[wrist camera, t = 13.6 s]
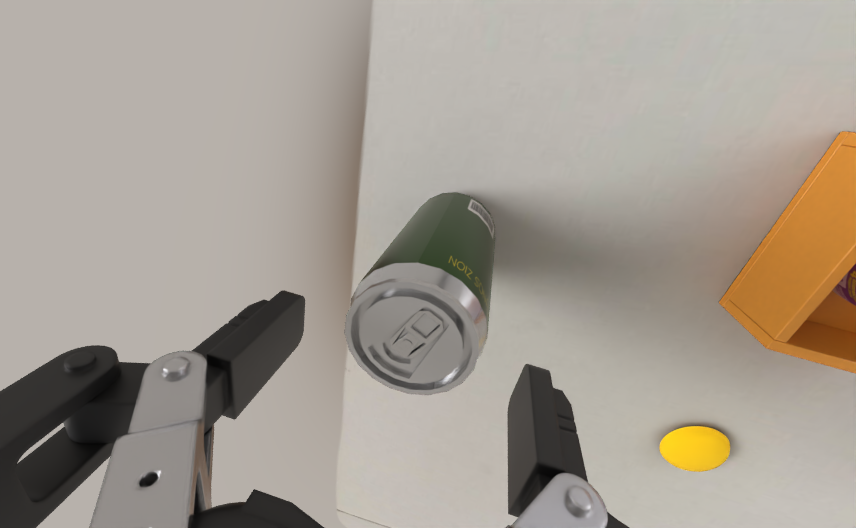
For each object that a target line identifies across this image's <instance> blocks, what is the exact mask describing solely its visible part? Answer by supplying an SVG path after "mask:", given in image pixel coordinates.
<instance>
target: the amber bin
mask: <svg viewBox="0 0 856 528" xmlns="http://www.w3.org/2000/svg"><path fill="white" fill-rule="evenodd" d="M855 264H856V133H855V132H845V131H842V132H840V133H839V135H838V136H837V138H836V139H835V140H834V142H833V143H832V145H831V146H830V147H829V149H828V150H827V152H826V153H825V154H824V156H823V157H822V159H821V160H820V161H819V163H818V164H817V166H816V167H815V168H814V170H813V171H812V173H811V174H810V175H809V177H808V178H807V180H806V181H805V182H804V184H803V185H802V187H801V188H800V189H799V191H798V192H797V194H796V195H795V196H794V198H793V199H792V201H791V202H790V203H789V205H788V206H787V208H786V209H785V210H784V212H783V213H782V215H781V216H780V217H779V219H778V220H777V222H776V223H775V224H774V226H773V227H772V229H771V230H770V231H769V233H768V234H767V236H766V237H765V238H764V240H763V241H762V243H761V244H760V245H759V247H758V248H757V250H756V251H755V252H754V254H753V255H752V257H751V258H750V260H749V261H748V262H747V264H746V265H745V267H744V268H743V269H742V271H741V272H740V274H739V275H738V276H737V278H736V279H735V281H734V282H733V283H732V285H731V286H730V288H729V289H728V290H727V292H726V293H725V295H724V296H723V297H722V299H721V300H720V302H719V304H720V305H722V306H723V307H724V308H725V309H726V310H727V311H728V312H729V313H730V314H731V315H732V316H733V317H734V318H735V319H736V320H737V321H738V322H739V323H740V324H741V325H742V326H743V327H744V328H746V329H747V330H748V331H749V332H750V333H751V334H752V335H753V336H754V337H755V338H756V339H757V340H758V341H759V342H760V343H761V344H762V345H763V346H764V347H765V348H767V349H770V350H773V351H777V352H781V353H784V354H788V355H791V356H795V357H798V358H802V359H806V360H809V361H813V362H816V363H820V364H824V365H827V366H831V367H834V368H838V369H842V370H845V371H849V372H852V373H856V306H855V305H853V304H852V303H850V302H848V301H847V300H845V299H844V298H842V297H840V296H839V295H837V294H836V293H835V292H834V291H832V290H833V289H834V288H835V286H836V285H837V284H838V283H839V282H840V281H841V280H842V279H843V277H844V276H845V275H846V274H847V273H848V272H849V271H850V269H851V268H852V267H853V266H854V265H855Z"/></svg>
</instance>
